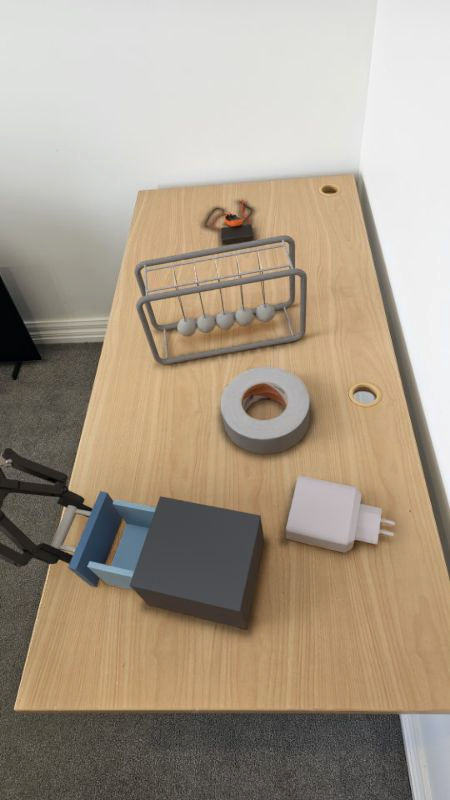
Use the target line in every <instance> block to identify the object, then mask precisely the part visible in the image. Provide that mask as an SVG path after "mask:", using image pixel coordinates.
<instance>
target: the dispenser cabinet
mask: <svg viewBox="0 0 450 800" xmlns="http://www.w3.org/2000/svg"><path fill="white" fill-rule="evenodd" d="M156 504H157V505H156V506H155V507H156V509H155V512H154V515H153V518H152V521H151V524H150V527H149V530H148V533H147V536H146V539H145V541H144V544H143V547H142V550H141V553H140V556H139V559H138V562H137V565H136V568H135V571H134V574H133V576H132V579H131V582H130V587H131V588H132V589H133V590H134V591H133V590H132V591H133V592H135V593H136V594H137V595H138V597H140V598H141V600H143V602H145V603H146V604H147V606H149V607H153V608H157V609H160V610H164V611H167V612H173V613H177V614H181V615H184V616H188V617H193V618H196V619H197V618H198V619H201V620H205V621H208V622H213V623H217V624H221V625H224V626H225V625H226V626H230V627H233V628H238V629H242V630H245V631H247V630H248V627H249V621H250V618H251V617H250V616H251V611H252V607H253V602H254V597H255V593H256V587H257V582H258V578H259V573H260V568H261V563H262V560H263V559H262V558H263V554H264V553H263V552H264V549H265V543H266V542H265V541H266V540H265V534H264V529H263V522H262V516H261V514H255V513H250V512H245V511H240V510H234V509H230V508H224V507H219V506H213V505H209V504H203V503H198V502H192V501H188V500H182V499H176V498H171V497H166V496H159V497H158V501H157V503H156Z"/></svg>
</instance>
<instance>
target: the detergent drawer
mask: <svg viewBox="0 0 450 800" xmlns="http://www.w3.org/2000/svg"><path fill="white" fill-rule="evenodd" d="M92 508H93V509H92V511H91V512H89V511H85V510H80V509H78V508H77V507H75V506H72V505H68V507H67V508H66V509H65V511H64V513H63V516H62V517H61V520H60V523H59V525H58V527H57V529H56V531H55V533H54V536H53V538H52V540H51V542H50V544H49V545H50V546H52V547H55V548H57V549H59V550H62V551H64V552H70V553H73V554H72V555H73V557H72V559H71V562H70V564H68V567H67V568H68V569H69V570H70V571H71V572H73V573H74V574H75V575H76V576H77V577H79V578H80V579H81V580H82V581H83V582H85V583H86V584H87V585H88V586H90V587H94V588H98V587H99V583H100V580H101V581H102V582H103V583H104V584H106V585H109V586H113V587H117V588H121V589H125V590H129V591H133V592H135V591H134V590H133V589H132V588H131V587H130V582H131V579H132V576H133V574H134V571H135V568H136V565H137V562H138V559H139V556H140V553H141V550H142V547H143V544H144V541H145V539H146V536H147V533H148V530H149V527H150V524H151V521H152V518H153V515H154V512H155V509H156V506H152V505H147V504H141V503H136V502H132V501H131V502H130V501H128V500H127V501H126V500H121V499H118V498H117V499H116V498H114V499H113V498H112V497H111V495H110V494H109V492H108V491H107V492H106V491H102V490H100V491H99V492H98V495H97V497H96V500H95V502H94V504H93V507H92ZM76 515H80V516H83V515H84V516H83V517H85V516H89V518H87V521H86V523H85V525H84V528H83V530H82V533H81V535H80V538H79V540H78V543H77V545H76V547H74V546H70V545H65V541H66V539H67V537H68V534H69V532H70V529H71V527H72V525H73V523H74V520H75V518H76ZM123 521H124V522H125V527H124V529H123V532H122V535H121V537H120V540H119V543H118V545H117V548H116V550H115V554H114V556H113V558H112V562H111V563H110V565H109V564H107V562H108V559H109V556H110V554H111V551H112V549H113V546H114V543H115V541H116V537H117V536H118V532H119V530H120V527H121V525H122V522H123Z"/></svg>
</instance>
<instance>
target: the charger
mask: <svg viewBox="0 0 450 800" xmlns="http://www.w3.org/2000/svg"><path fill="white" fill-rule="evenodd" d="M361 500H362V493H361V492H360V490H359V489H358V487H357V486H352V485H349V484H348V485H347V484H344V483H339V482H334V481H329V480H323V479H319V478H314V477H309V476H305V475H300V474H298V476H297V479H296V482H295V488H294V492H293V496H292V500H291V505H290V509H289V512H288V517H287V522H286V528H285V539H286V540H290V541H294V542H299V543H303V544H306V545H311V546H314V547H319V548H323V549H326V550H331V551H335V552H338V553H339V552H340V553H343V554H346V553H347V552H349V551H350V550H352V549H353V548H354V544H355V541H358V542H359V541H360V542H363V543H369V544H373V545H378V542H379V541H378V540H379V536H380V535H379V534H381V535H384V536H389V537H394V536H395V533H394V532H391V531H387V530H383V529H380V527H381V523H382V524H387V525H390V526H395V525H396V521H394V520H393V521H392V520H388V519H385V518H382V507H378V506H375V505H374V506H373V505H370V504H369V505H368V504H366V503H365V504H364V503H361Z"/></svg>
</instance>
